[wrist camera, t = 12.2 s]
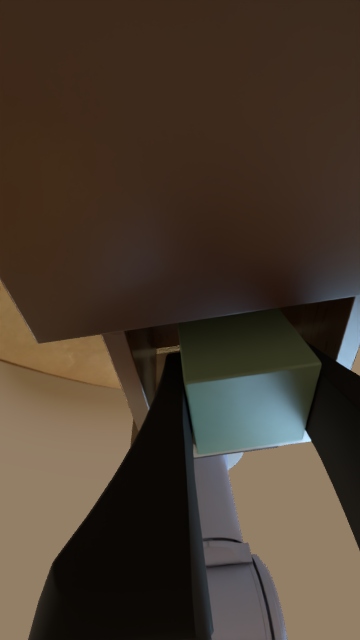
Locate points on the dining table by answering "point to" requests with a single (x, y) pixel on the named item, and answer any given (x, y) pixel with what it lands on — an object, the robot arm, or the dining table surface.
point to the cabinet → (176, 159)
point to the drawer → (147, 366)
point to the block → (246, 380)
